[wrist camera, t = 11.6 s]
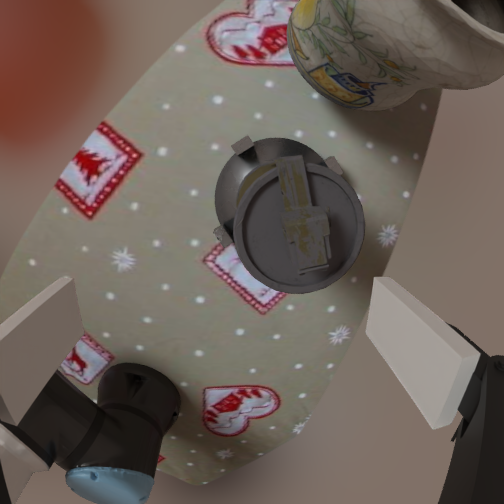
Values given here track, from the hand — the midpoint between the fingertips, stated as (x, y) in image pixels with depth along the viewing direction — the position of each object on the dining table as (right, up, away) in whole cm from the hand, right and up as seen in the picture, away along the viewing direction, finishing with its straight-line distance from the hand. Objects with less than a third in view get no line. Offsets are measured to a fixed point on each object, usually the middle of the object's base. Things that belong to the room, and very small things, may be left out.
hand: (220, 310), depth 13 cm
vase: (+14, +29, +24) cm, 41 cm away
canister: (+4, +9, +28) cm, 30 cm away
